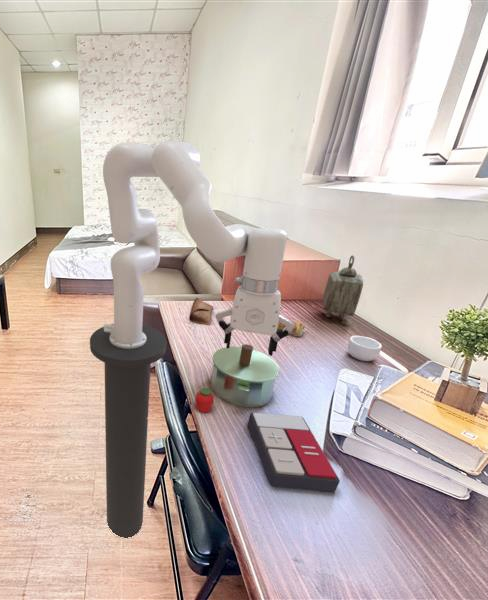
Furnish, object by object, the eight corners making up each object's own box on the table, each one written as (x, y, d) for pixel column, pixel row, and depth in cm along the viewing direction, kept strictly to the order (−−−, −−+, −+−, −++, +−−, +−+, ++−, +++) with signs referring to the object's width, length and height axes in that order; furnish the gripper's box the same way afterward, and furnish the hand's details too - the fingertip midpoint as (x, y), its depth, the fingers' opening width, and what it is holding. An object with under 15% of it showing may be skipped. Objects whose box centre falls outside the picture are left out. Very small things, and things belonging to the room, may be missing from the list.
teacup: (379, 367, 90) (385, 351, 88) (347, 360, 93) (352, 344, 91) (371, 351, 98) (376, 336, 96) (342, 345, 102) (346, 330, 100)
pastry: (272, 330, 112) (274, 320, 110) (276, 324, 116) (278, 314, 115) (301, 338, 106) (304, 328, 105) (304, 331, 111) (307, 321, 110)
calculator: (275, 472, 54) (250, 409, 67) (270, 488, 56) (246, 423, 69) (342, 479, 53) (303, 413, 66) (335, 495, 55) (298, 428, 68)
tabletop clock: (350, 328, 113) (371, 261, 104) (321, 322, 117) (338, 258, 108) (345, 313, 125) (364, 253, 115) (319, 309, 129) (335, 250, 120)
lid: (209, 376, 75) (211, 356, 73) (215, 345, 88) (217, 328, 86) (280, 391, 69) (286, 370, 67) (275, 356, 83) (279, 338, 81)
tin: (206, 405, 75) (210, 379, 72) (214, 362, 92) (217, 340, 90) (273, 421, 70) (279, 395, 67) (268, 373, 87) (273, 350, 84)
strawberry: (193, 410, 74) (195, 394, 72) (195, 399, 77) (197, 383, 75) (211, 415, 72) (214, 398, 70) (213, 403, 76) (215, 387, 74)
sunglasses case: (212, 323, 116) (204, 308, 114) (194, 330, 119) (186, 315, 118) (213, 306, 131) (206, 292, 130) (198, 312, 134) (191, 298, 133)
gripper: (218, 284, 70) (210, 350, 77) (305, 293, 64) (289, 364, 70) (220, 275, 77) (213, 336, 83) (300, 283, 71) (286, 348, 77)
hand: (248, 349), depth 77 cm, fingers open, 9 cm apart
